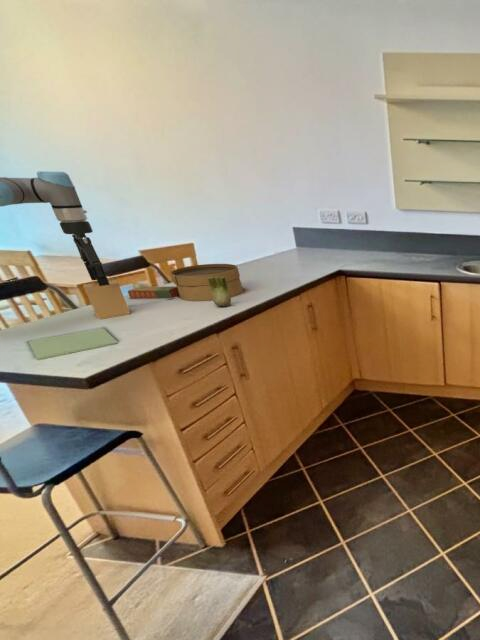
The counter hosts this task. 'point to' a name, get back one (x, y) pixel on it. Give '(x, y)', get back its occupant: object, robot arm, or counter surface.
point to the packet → (106, 300)
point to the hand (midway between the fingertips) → (100, 282)
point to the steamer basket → (205, 280)
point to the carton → (153, 292)
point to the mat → (71, 343)
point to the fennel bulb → (220, 292)
